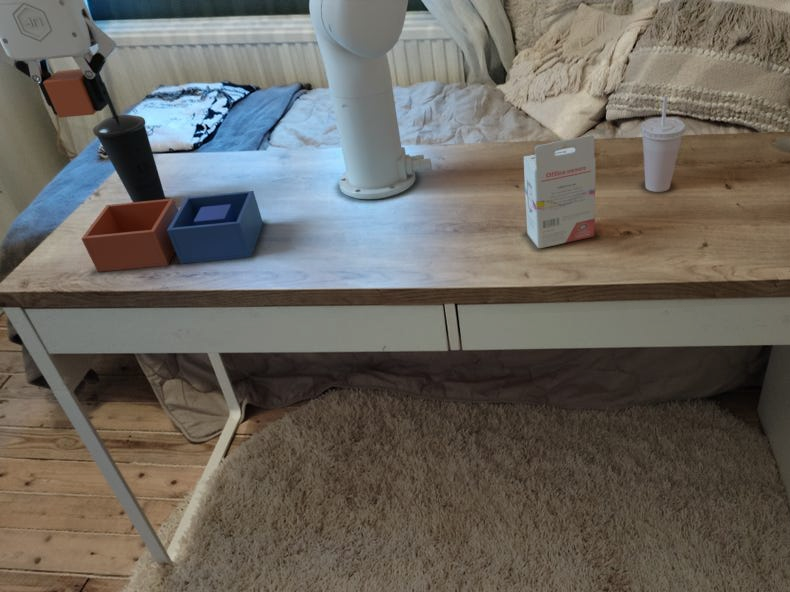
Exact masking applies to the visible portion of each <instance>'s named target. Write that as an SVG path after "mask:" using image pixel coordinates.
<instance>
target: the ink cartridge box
mask: <svg viewBox="0 0 790 592" xmlns="http://www.w3.org/2000/svg"><path fill="white" fill-rule="evenodd" d="M596 162H597V159H596V157H595V136H594V135H592V134H588V135H585V136H580V137H574V138H568V139H563V140H558V141H557V140H556V141H553V142H548V143H544V144H538V145H536V146H535V147H534V154H531V155H525V156H524V155H523V171H524V173H523V175H524V194H525V195H524V196H525V215H526V232H527V233H526V234H527V236H528V237H529V238H530V240H531V241H532V242H533V244H535V246H536V248H538V249H543V248H548V247H552V246H553V247H554V246H557V245H561V244H565V243H571V242H575V241H580V240H584V239H588V238H592V237H594V236H595V223H596V222H595V221H596V220H595V219H596V218H595V217H596V216H595V215H596V169H597V168H596V167H597V165H596Z"/></svg>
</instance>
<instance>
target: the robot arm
mask: <svg viewBox="0 0 790 592" xmlns="http://www.w3.org/2000/svg"><path fill="white" fill-rule="evenodd" d="M308 2H309V3H308V7H309V8H308V9H309V14H310V15H309V17H310V20H311V25H312V28H313V29H312V30H313V32H314V35H315V38H316V42H317V44H318V48H319V51H320V56H321V58H322V63H323V65H324V70H325V75H326V79H327V84H328V90H329V94H330V99H331V104H332V108H333V109H332V110H333V114H334V118H335V123H336V128H337V133H338V138H339V143H340V147H341V152H342V157H343V163H344V166H345V167H344V168H345V172H344V173H343V174H342V175H341V176H340V178H339V180H338V185H339V190H340V191H341V193H343V194H344V195H346V196H348V197H350V198H354V199H358V200H359V199H360V200H379V199H385V198H388V197H392V196H396V195H398V194H400V193H403V192H405V191H406V190H408V189H409V188H410V187H412V185H414V183H415V181H416V172H430V171H433V166H432V159H431V158H425V156H424V154H416V155H410V154H407V151H406V148H405V147H404V146H402V141H401V135H400V134H401V133H400V128H399V122H398V115H397V109H396V101H395V96H394V87H393V80H392V73H391V69H390V68H391V67H390V63H389V59H388V54H387V53H389V52H390V51H391V50H392V49H393V48H394V47H395V45H396V44H397V42H398V41H399V38H400V37H401V35H402V33H403V28H404V26H405V21H406V16H407V12H408V11H407V9H408V3H409V0H309V1H308ZM96 45H97V47H98V49H97V50H96V52H94V53H93V52H92V50H91V47H94V46H96ZM117 47H118V46H117V43H116V42H115V41H114V40H113V39H112V37H110V36H109V35H108V34H106V32H104V31H103V30H102V28H100V27H98V25H96V24H95V21H94V20H93V17H92V15H91V13H90V10H89V8H88V6H87V4H86V1H85V0H0V61H1V62H3V63H5V64H8V65H9V66H11V67H14V68H16V70H18V71H19V72H20V73H22V74H24V75H25V76H27V77H29V78H30V79H31V81H32V82H33V83H34V84H37V85H38V86H39V88H40V91H41V93H42V95H43V97H44V99H45V102H46V104H47V105H48V107H50V108H51V110H52V112H53V114H54V115H55V116H58V114H57V112H56V110H55V108H54V105H53V103H52V101H51V99H50V97H49V94H48V92H47V90H46V88H45V85H44V83H43V82H44V81H45V80H47V79H48V78H49V77H51V76H52V75H53V74H52V73H51V70H50V64H49V60H52V59H64V58H72V59H73V60H74V62H75V63H76V65H77V66H78V69H81V71H82V72H83V74H84V76H85V79H84V80H83V83H84V86H85V88H86V90H87V93H88V95H89V98H90V100H91V103H92V105H93V107H94V109H95V110H96V111H97V112H102V111H103V110H104V109H105V108H106V107H107V106H108V99H109V98H108V94H107V91H108V90H107V91H106V89H105V86H106V85H105V86H104V84H103V82H104V81H103V78H102V76H101V72H102V71H103V67H104V65H105V63H106V62H107V60H108V58H109V57H110V56H111V54H112V53H113V52H114V51H115V50H116V48H117Z"/></svg>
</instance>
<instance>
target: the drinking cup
mask: <svg viewBox="0 0 790 592" xmlns="http://www.w3.org/2000/svg"><path fill="white" fill-rule="evenodd" d="M103 84H104V86H105V89H106V91H107V94H108V98H109V99H108V104H107V107H108V108H109V111H110V113H111V116H108V117H107V118H105V119H103V120H102V121H100V123H98V124H96V125H95V126H94V127H93V128H92V133H93V135H94V136H95V137H97V139H98V141H99V143H100V144H101V146H102V148H103V150H104V152H105V153H106V155H107V158H108V159H109V161H110V162H111V164H112V166H113V169H114V170H115V172H116V174H117V175H118V178H119V179H120V181H121V183H122V185H123V187H124V189H125V191H126V192H127V194H128V196H129V198H130V200H131V202H142V201H153V200H163V199H167V198H166V195H165V192H164V188H163V184H162V181H161V177H160V174H159V171H158V167H157V163H156V160H155V156H154V153H153V150H152V146H151V143H150V140H149V136H148V133H147V129H146V120H145V118H144V117H143V116H139V115H133V114H123V113H122V114H118V113H117V111H116V107H115V105H114V103H113V101H112V98H111V96H110V93H109V91H108V88H107V86H106V84H105V81H103Z"/></svg>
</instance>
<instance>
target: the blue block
mask: <svg viewBox="0 0 790 592" xmlns="http://www.w3.org/2000/svg"><path fill="white" fill-rule="evenodd" d="M227 222H237V221H236V218H235V215H234V211H233V208H232V205H231V204H229V205H218V206H208V207H201V208H200V210H199V212H198V214H197V216H196V218H195V220H194V224H195V226H197V225H207V224H217V223H227Z"/></svg>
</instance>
